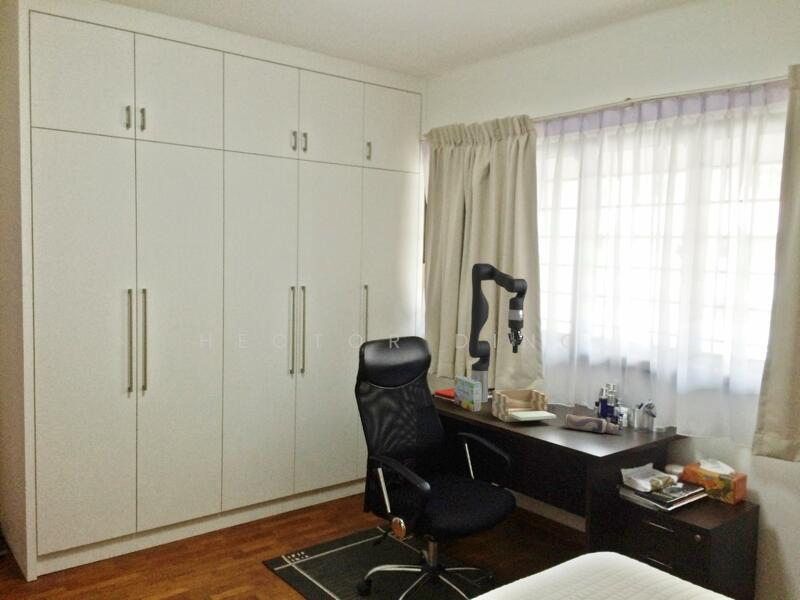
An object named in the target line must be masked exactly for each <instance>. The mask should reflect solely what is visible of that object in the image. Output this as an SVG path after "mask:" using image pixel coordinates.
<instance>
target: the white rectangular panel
mask: <svg viewBox="0 0 800 600" xmlns="http://www.w3.org/2000/svg"><path fill="white" fill-rule="evenodd" d="M509 416H511V417H514V418H516V419H519V420H525V421H524V422H530V421H545V420H546V421H547V420H548V421H549V420H550V419H557V414H554V413H551V412H548V411H547V412H546V411H533V412H515V413H509Z"/></svg>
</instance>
